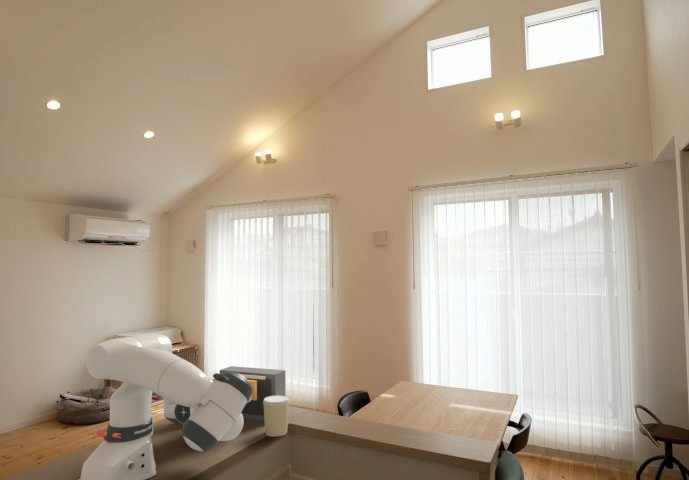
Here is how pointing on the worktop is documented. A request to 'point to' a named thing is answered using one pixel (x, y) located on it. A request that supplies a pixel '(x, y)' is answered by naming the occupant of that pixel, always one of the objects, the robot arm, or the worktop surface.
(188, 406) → the robot arm
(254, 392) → the panel
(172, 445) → the worktop surface
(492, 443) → the worktop surface
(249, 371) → the grey rectangular box
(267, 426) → the coffee cup
